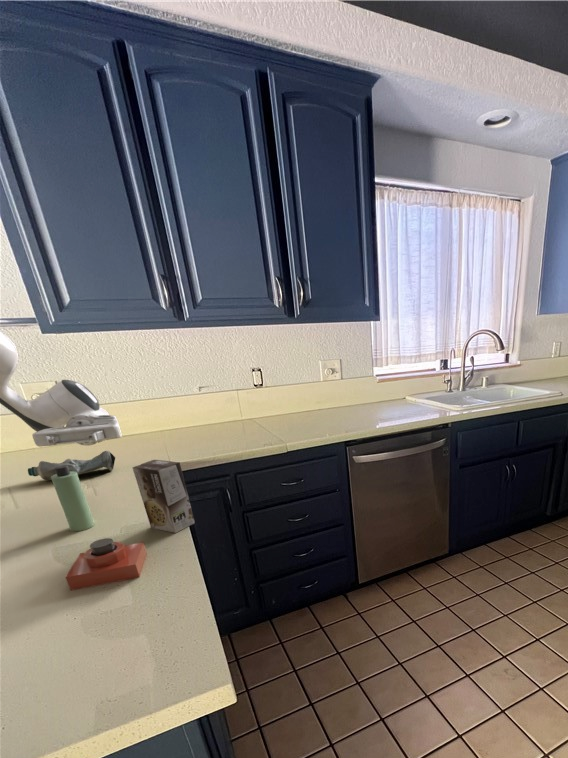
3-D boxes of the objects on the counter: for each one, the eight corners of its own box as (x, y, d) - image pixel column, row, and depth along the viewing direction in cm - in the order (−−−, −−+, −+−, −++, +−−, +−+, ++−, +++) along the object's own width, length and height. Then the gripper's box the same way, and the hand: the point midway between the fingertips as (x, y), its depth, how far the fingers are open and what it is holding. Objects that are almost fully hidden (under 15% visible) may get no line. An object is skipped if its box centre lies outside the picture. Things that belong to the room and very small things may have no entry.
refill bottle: (67, 532, 106) (44, 471, 99) (74, 524, 110) (52, 465, 104) (91, 529, 107) (70, 468, 101) (97, 520, 112) (76, 462, 105)
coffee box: (196, 522, 108) (181, 461, 101) (175, 533, 103) (158, 470, 96) (170, 517, 112) (154, 458, 105) (149, 528, 106) (131, 466, 100)
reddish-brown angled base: (70, 590, 82) (61, 568, 80) (84, 565, 90) (77, 544, 88) (139, 577, 85) (132, 555, 83) (147, 554, 94) (141, 534, 92)
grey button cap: (90, 558, 84) (87, 549, 83) (95, 549, 87) (92, 540, 86) (113, 554, 85) (110, 545, 84) (117, 545, 88) (114, 536, 87)
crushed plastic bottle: (119, 464, 158) (37, 474, 148) (113, 445, 155) (29, 455, 145) (116, 477, 148) (28, 489, 138) (111, 457, 144) (20, 468, 135)
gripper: (39, 422, 119) (19, 433, 107) (121, 414, 125) (111, 424, 113) (47, 444, 121) (28, 457, 109) (127, 436, 127) (118, 447, 115)
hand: (71, 440), depth 111 cm, fingers open, 8 cm apart
